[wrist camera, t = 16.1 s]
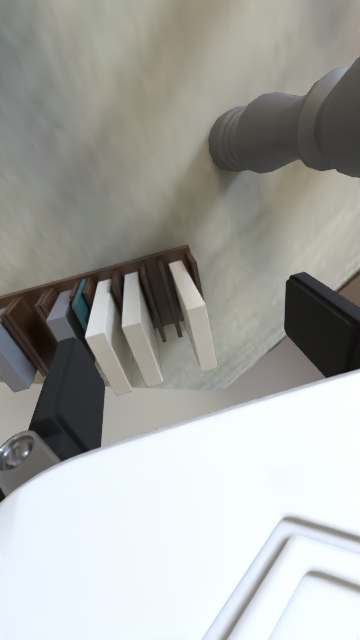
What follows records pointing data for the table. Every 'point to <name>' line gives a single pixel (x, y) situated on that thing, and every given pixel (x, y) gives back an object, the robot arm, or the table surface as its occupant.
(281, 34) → the table surface
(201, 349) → the white book
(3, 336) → the grey book
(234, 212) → the table surface
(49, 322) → the grey book
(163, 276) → the book rack
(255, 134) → the candle holder
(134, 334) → the white book
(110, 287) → the white book
